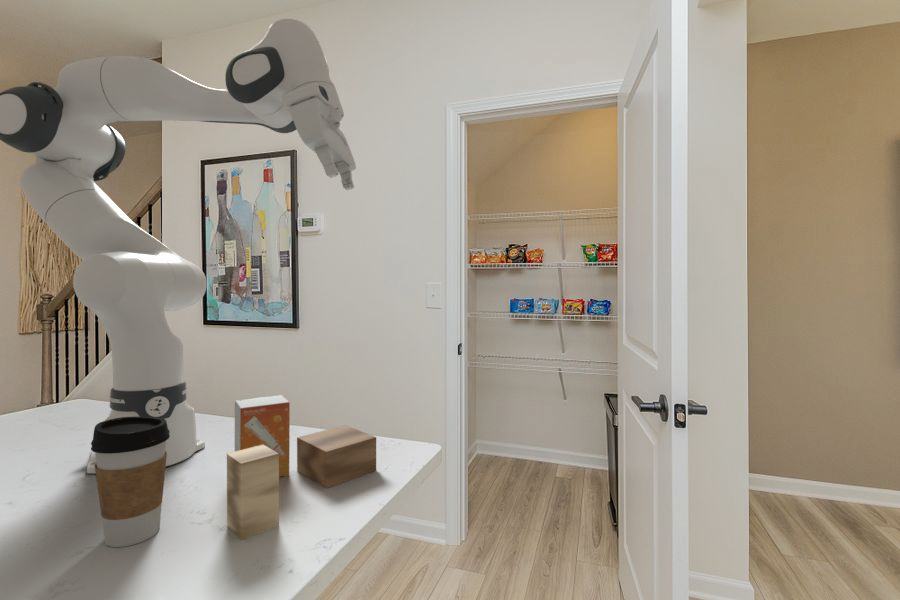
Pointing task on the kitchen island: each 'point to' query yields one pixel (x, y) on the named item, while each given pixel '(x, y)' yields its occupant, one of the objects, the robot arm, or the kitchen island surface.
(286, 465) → the small box
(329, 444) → the walnut block
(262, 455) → the oak block
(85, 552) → the kitchen island surface
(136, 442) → the coffee cup
